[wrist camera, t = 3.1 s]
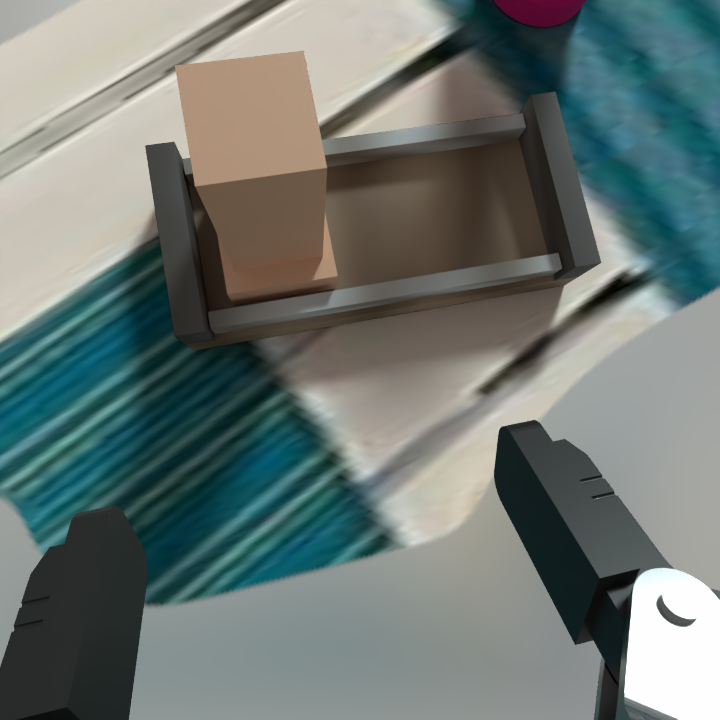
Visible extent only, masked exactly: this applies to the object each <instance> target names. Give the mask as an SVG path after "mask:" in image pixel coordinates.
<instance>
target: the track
mask: <svg viewBox="0 0 720 720" xmlns="http://www.w3.org/2000/svg"><path fill="white" fill-rule="evenodd" d="M322 145H323V150H324V155H325V160H326V165H327V180H326V201H325V215H326V220H327V225H328V230H329V235H330V240H331V245H332V250H333V255H334V260H335V265H336V270H337V275H338V277H337V284H336V289H330V290H324V291H318V292H312V293H306V294H300V295H294V296H288V297H282V298H276V299H270V300H264V301H258V302H252V303H246V304H240V305H235V306H234V305H233V303H232V301H231V300H230V298H229V296H228V295H227V290H226V284H225V278H224V272H223V266H222V260H221V254H220V248H219V242H218V236H217V232H216V230H215V228H214V226H213V223H212V221H211V219H210V217H209V215H208V213H207V211H206V209H205V206H204V204H203V202H202V200H201V198H200V196H199V194H198V192H197V189H196V187H195V183H194V177H193V171H192V165H191V159H190V158H186V159H182V157H181V155H180V153H179V151H178V149H177V147H176V145H175V142H169V143H161V144H154V145H146V146H145V147H146V154H147V160H148V167H149V173H150V180H151V186H152V193H153V199H154V206H155V212H156V219H157V225H158V232H159V238H160V245H161V251H162V258H163V264H164V271H165V277H166V284H167V290H168V297H169V303H170V310H171V316H172V323H173V329H174V336H175V337H176V338H178V339H179V340H180V341H182V342H183V343H184V344H186V345H187V346H188V347H190V348H191V349H192V350H200V349H205V348H211V347H217V346H222V345H228V344H234V343H239V342H245V341H251V340H256V339H262V338H268V337H273V336H279V335H285V334H290V333H296V332H302V331H307V330H313V329H319V328H324V327H330V326H336V325H341V324H347V323H353V322H359V321H364V320H370V319H376V318H381V317H387V316H393V315H398V314H404V313H410V312H415V311H421V310H427V309H432V308H438V307H444V306H449V305H455V304H461V303H466V302H472V301H478V300H483V299H489V298H495V297H500V296H506V295H512V294H517V293H523V292H529V291H534V290H540V289H546V288H551V287H557V286H563V285H566V284H567V283H569V282H571V281H572V280H574V279H576V278H577V277H579V276H580V275H582V274H584V273H585V272H587V271H589V270H590V269H592V268H593V267H595V266H597V265H598V264H600V263H601V260H600V256H599V253H598V249H597V245H596V242H595V238H594V234H593V230H592V227H591V223H590V219H589V215H588V212H587V208H586V204H585V201H584V197H583V193H582V189H581V186H580V182H579V178H578V174H577V171H576V167H575V163H574V160H573V156H572V152H571V148H570V145H569V141H568V137H567V133H566V130H565V126H564V122H563V118H562V115H561V111H560V107H559V104H558V100H557V96H556V92H549V93H542V94H534V95H530V97H529V99H528V100H527V102H526V103H525V105H524V107H523V108H522V110H521V111H520V113H519V114H512V115H504V116H497V117H489V118H482V119H475V120H467V121H460V122H453V123H445V124H438V125H430V126H423V127H416V128H408V129H401V130H393V131H386V132H379V133H371V134H364V135H356V136H349V137H342V138H334V139H327V140H322Z"/></svg>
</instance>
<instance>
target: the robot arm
mask: <svg viewBox="0 0 720 720" xmlns="http://www.w3.org/2000/svg"><path fill="white" fill-rule="evenodd" d="M494 479H495V485H496V489H497V492H498V495H499V498H500V500H501V502H502V504H503V506H504V508H505V510H506V512H507V514H508V516H509V518H510V520H511V522H512V523H513V525H514V527H515V529H516V531H517V533H518V535H519V537H520V539H521V541H522V543H523V545H524V547H525V549H526V551H527V552H528V554H529V556H530V558H531V560H532V562H533V564H534V566H535V568H536V570H537V572H538V574H539V576H540V578H541V580H542V581H543V583H544V585H545V587H546V589H547V591H548V593H549V595H550V597H551V599H552V601H553V603H554V605H555V607H556V609H557V610H558V612H559V614H560V616H561V618H562V620H563V622H564V624H565V626H566V628H567V630H568V632H569V634H570V636H571V637H572V640H573V641H574V643H575V645H576V644H581V643H585V642H588V641H592V640H594V642H595V644H596V646H597V648H598V649H599V651H600V653H601V655H602V658H601V663H600V672H599V680H598V689H597V696H596V706H595V714H594V720H720V591H717V590H714V589H710V588H708V587H707V586H706V585H705V584H703V583H702V582H701V581H699V580H697V579H696V578H694V577H692V576H691V575H688V574H687V573H684V572H681V571H678V570H675V569H674V568H673V567H672V566H671V565H670V564H669V563H668V562H667V561H666V560H665V559H664V557H663V556H662V555H661V553H660V552H659V551H658V549H657V548H656V547H655V545H654V544H653V543H652V541H651V540H650V539H649V537H648V536H647V535H646V534H645V532H644V531H643V529H642V528H641V527H640V525H639V524H638V522H637V521H636V520H635V518H634V517H633V516H632V514H631V513H630V512H629V510H628V509H627V508H626V506H625V505H624V504H623V503H622V501H621V500H620V498H619V497H618V496H616V495H615V494H614V490H613V489H612V488H611V486H610V485H609V484H608V482H607V481H606V480H605V479H603V478H602V474H601V473H600V472H599V470H598V469H597V467H596V466H595V465H594V463H593V462H592V461H591V459H590V458H589V457H588V455H587V454H585V453H584V452H582V451H581V450H580V449H578V448H577V447H575V446H574V445H573V444H571V443H570V442H568V441H567V440H565V439H563V440H559V441H554V442H553V441H552V440H551V438H550V437H549V435H548V434H547V432H546V431H545V430H544V428H543V427H542V425H541V424H540V423H539V422H538V421H536V420H532V421H527V422H522V423H517V424H513V425H508V426H503V427H501V428H500V430H499V435H498V443H497V452H496V461H495V469H494ZM147 576H148V567H147V559H146V554H145V551H144V548H143V546H142V544H141V543H140V541H139V539H138V537H137V535H136V534H135V532H134V530H133V528H132V527H131V525H130V523H129V521H128V520H127V518H126V516H125V514H124V513H123V511H122V509H121V508H120V507H119V506H117V505H115V506H110V507H105V508H100V509H95V510H91V511H86V512H81V513H77V514H76V515H75V516H74V517H73V519H72V521H71V524H70V527H69V530H68V534H67V538H66V541H65V544H63V545H58V546H53V547H50V548H49V549H48V551H47V552H46V553H45V555H44V556H43V558H42V559H41V560H40V562H39V563H38V565H37V566H36V568H35V569H34V570H33V572H32V573H31V575H30V578H29V581H28V584H27V587H26V590H25V593H24V596H23V599H22V602H21V603H22V608H20V609H19V611H18V615H17V618H16V621H15V624H14V629H15V630H14V632H12V633H11V636H10V639H9V642H8V645H7V648H6V651H5V654H4V657H3V660H2V664H1V667H0V720H129V714H130V706H131V698H132V691H133V683H134V676H135V668H136V661H137V653H138V645H139V638H140V630H141V623H142V615H143V608H144V600H145V592H146V585H147Z"/></svg>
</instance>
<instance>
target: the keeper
mask: <svg viewBox="0 0 720 720" xmlns="http://www.w3.org/2000/svg"><path fill="white" fill-rule="evenodd" d="M175 68H176V74H177V80H178V86H179V92H180V98H181V104H182V111H183V117H184V123H185V129H186V135H187V141H188V147H189V153H190V159H191V165H192V171H193V177H194V183H195V187H196V189H197V192H198V194H199V196H200V198H201V200H202V202H203V204H204V206H205V209H206V211H207V213H208V215H209V217H210V219H211V221H212V223H213V226H214V228H215V230H216V232H217V236H218V242H219V248H220V254H221V260H222V266H223V272H224V278H225V284H226V290H227V295H228V296H229V298H230V300H231V301H232V303H233V305H234V306H235V305H240V304H246V303H252V302H258V301H264V300H270V299H276V298H282V297H288V296H294V295H300V294H306V293H312V292H318V291H324V290H330V289H336V284H337V277H338V275H337V270H336V265H335V260H334V255H333V250H332V245H331V240H330V235H329V230H328V225H327V220H326V215H325V201H326V180H327V165H326V160H325V155H324V150H323V145H322V140H321V135H320V130H319V125H318V120H317V115H316V110H315V105H314V100H313V95H312V90H311V85H310V80H309V75H308V71H307V66H306V61H305V56H304V51H299V52H290V53H281V54H273V55H264V56H255V57H246V58H238V59H229V60H220V61H212V62H203V63H194V64H186V65H177V66H175Z"/></svg>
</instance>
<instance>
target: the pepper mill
mask: <svg viewBox="0 0 720 720" xmlns="http://www.w3.org/2000/svg"><path fill="white" fill-rule="evenodd" d="M585 1H586V0H494V2H495V3H496V5H497V6H498V7H499V8H500V9H501V10H502V11H503V12H504V13H505V14H507V15H508V16H510V17H511V18H513V19H514V20H516V21H517V22H520V23H523V24H526V25H529V26H533V27H550V26H554V25H559V24H561V23H564V22H566V21H567V20H569V19H571V18H572V17H573V16H574V15H575V14H576V13H577V12H578V11H579V10H580V9H581V7H582V6H583V4H584V2H585Z"/></svg>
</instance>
